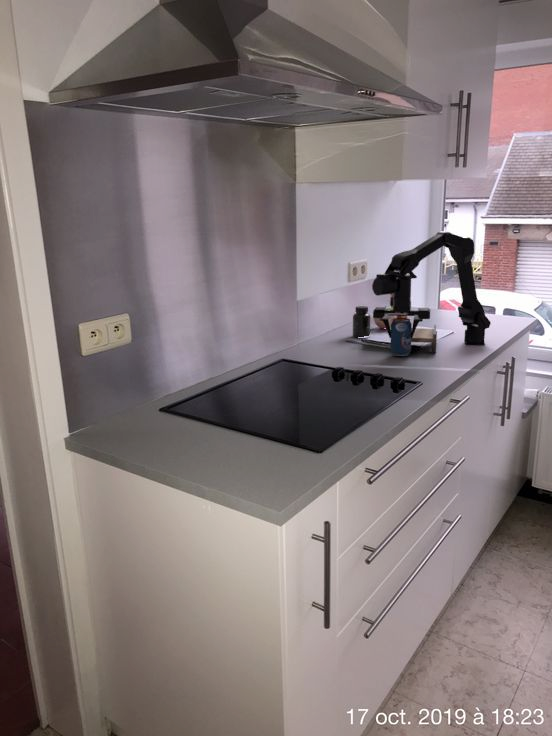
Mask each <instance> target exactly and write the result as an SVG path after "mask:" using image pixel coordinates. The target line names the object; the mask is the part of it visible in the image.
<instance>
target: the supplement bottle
mask: <svg viewBox="0 0 552 736" xmlns="http://www.w3.org/2000/svg"><path fill="white" fill-rule="evenodd" d="M369 335H370V336H371V314H369V307H368V306H365V305H358V306H355V313H353V315H352V337H353V338H354V339H357V338H358V337H364V336H369Z"/></svg>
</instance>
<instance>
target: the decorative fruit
mask: <svg viewBox="0 0 552 736" xmlns="http://www.w3.org/2000/svg"><path fill="white" fill-rule="evenodd" d="M384 307H386V310H393V309H392V308H391V307H388V308H387V306H386V305H385V306H384ZM395 318H397V316H390V326H391V323H392V322H393V319H395ZM373 321H374V323H375V324H374V325H376V326H377V327H378V328H379V329H381V328H386V326H385V324H384V322H383V321H380V318H373Z"/></svg>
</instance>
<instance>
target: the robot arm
mask: <svg viewBox="0 0 552 736" xmlns="http://www.w3.org/2000/svg"><path fill="white" fill-rule="evenodd" d="M443 247H444V248H447V249H448V251H449V254H450V257H451V258H452V260H453V261H454V262H455V263H456V269H457V275H458V280H459V287H460V291H461V299H462V302H461V304H460V305H459V306H458V307H457V311H458V318H460V320H461V322H462V326H465V327H466V329H465V330H464V343H465V345H471V346H472V345H474V346H476V345H478V346H485V345H486V342H485V335H486V330H487V329H489V328H490V325H491V320H489V319H488V317H487V316H486V311H485V310H484V306H483V305H482V304H481V302H480V300H479V299H478V296H477V290H476V285H475V284H476V283H475V276H474V271H473V264H472V260H473V257H474V255H475V242H474V240H473V238H471V237H465V236H459V235H457V234H454V233H451V232H449V231H442V230H441V231H437V233H436V234H434V235H433V236H431V237H429V238H428V239H426V240H425V241H423V242H422V243H420V244H418V245H417V246H416V247H413V248H412V249H409V250H405V251H402V252H399V253H396V254H395V255H393V256H392V257H391V262H390V263H389V264H388V267H387V268H386V270H385V272H384V273H383V274H379V273H378V274H376V275H375V278H374V280H373V282H372V284H371V287H372V288H371V289H372V292H373V294H375V296H377V297H378V296H384V295H391V294H393V293H394V294H393V297H391V296H390V301H389V302H390V303H389V306H390V308H391V307H393V310H386V309H387V306H386V307H385V306H384V307H380V306H378V307H377V306H375V308H374V309H373V310H372V312H373V313H372V318H373V319H374V318H380V321H383V322H384V324H385V326H386V329H385V330H386V332H387V334H388V337H389V339H391V326H390V316H407V317H413V321H412V332H411V339H412V338H413V335H414V332H415V329H416V328H417V327H418V325H419V323H420V322H423V320H431V309H430V308H429V307H418V310H414V309H413V310H412V299H411V298H412V295H411V294H412V279H417V278H418V277H417V275H416V274H415V273H414V272H413V271H414V270H415V269H416V268H417V267H419V265H420V262H421V261H423V260H424V259H425V258H427V257H428V256H430V255H431V254H433V253H435V252H437V251H438V250H439V249H441V248H443ZM395 312H396V313H395Z"/></svg>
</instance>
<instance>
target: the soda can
mask: <svg viewBox="0 0 552 736" xmlns="http://www.w3.org/2000/svg"><path fill="white" fill-rule="evenodd" d="M412 326H413V323H412V322H411V319H410V318H408V317H407V318H395V319H393V322H392V323H391V338H390V348H389V349H390V350H389V351H390V352H391V354H392V355H394V356H397V357H399V356H401V357H404V356H408V355H410V354H411V352H412V342H411V332H412Z"/></svg>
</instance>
